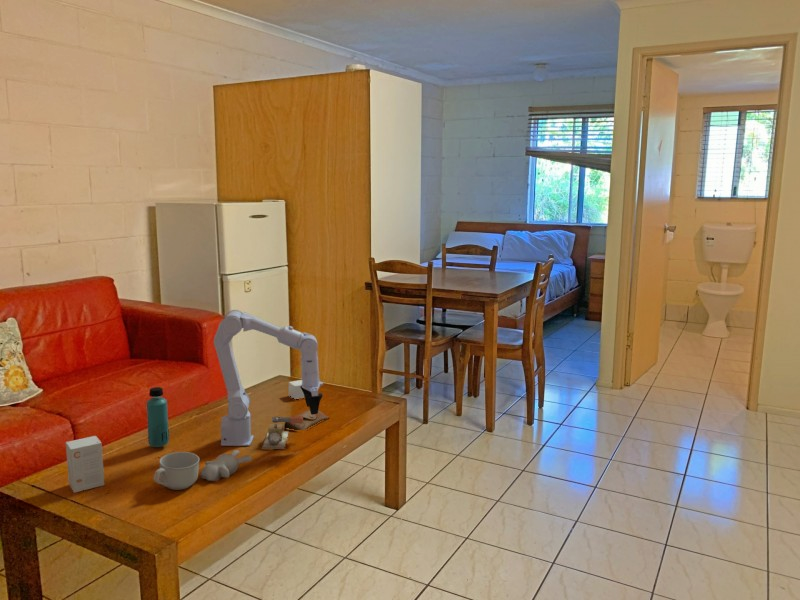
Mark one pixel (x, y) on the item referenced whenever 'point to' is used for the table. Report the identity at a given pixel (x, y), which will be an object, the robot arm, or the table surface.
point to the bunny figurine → (223, 466)
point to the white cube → (296, 389)
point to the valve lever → (288, 419)
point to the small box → (85, 463)
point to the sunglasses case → (306, 420)
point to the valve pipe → (275, 433)
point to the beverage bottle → (157, 418)
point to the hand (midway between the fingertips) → (312, 410)
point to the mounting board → (279, 445)
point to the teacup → (178, 470)
